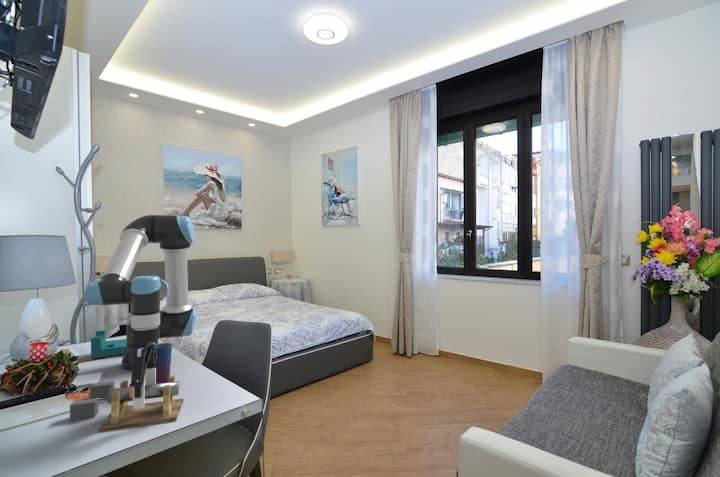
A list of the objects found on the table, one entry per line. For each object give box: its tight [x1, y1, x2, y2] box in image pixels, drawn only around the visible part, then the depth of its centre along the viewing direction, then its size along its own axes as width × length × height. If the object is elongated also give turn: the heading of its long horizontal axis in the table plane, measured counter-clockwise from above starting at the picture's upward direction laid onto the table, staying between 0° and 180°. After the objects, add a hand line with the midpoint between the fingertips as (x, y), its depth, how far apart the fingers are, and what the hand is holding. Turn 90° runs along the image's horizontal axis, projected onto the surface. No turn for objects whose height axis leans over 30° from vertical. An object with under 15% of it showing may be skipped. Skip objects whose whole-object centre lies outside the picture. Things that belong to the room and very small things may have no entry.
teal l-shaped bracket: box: [90, 329, 127, 359], centre depth 164 cm, size 18×11×10 cm, turn 117°
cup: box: [154, 342, 173, 384], centre depth 126 cm, size 7×7×15 cm
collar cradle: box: [98, 374, 184, 433], centre depth 105 cm, size 13×19×10 cm
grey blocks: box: [69, 380, 115, 422], centre depth 111 cm, size 17×6×4 cm, turn 19°
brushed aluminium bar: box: [106, 380, 180, 405], centre depth 105 cm, size 18×4×4 cm, turn 109°
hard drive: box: [70, 371, 103, 389], centre depth 131 cm, size 2×8×12 cm
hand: (145, 398), depth 105 cm, fingers open, 13 cm apart
